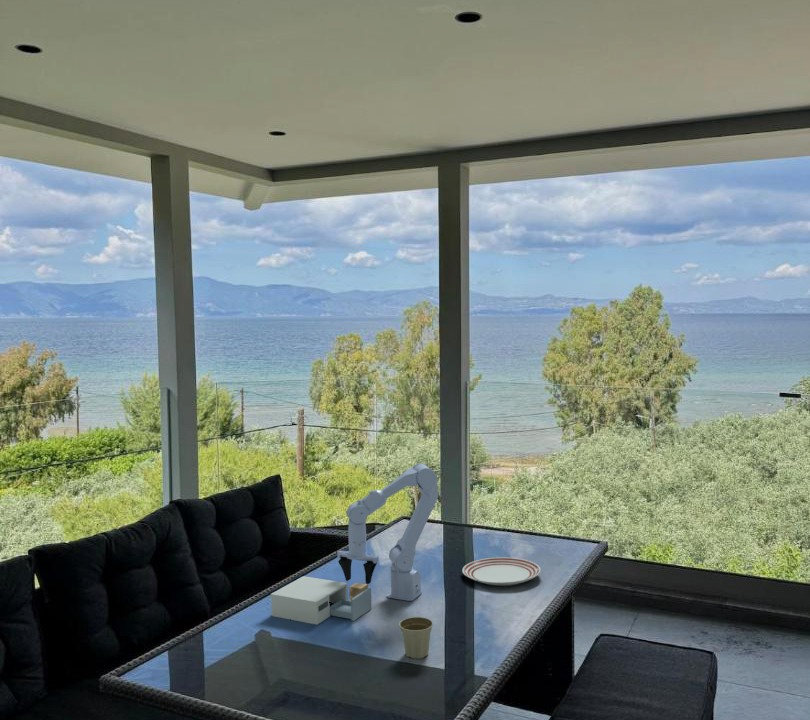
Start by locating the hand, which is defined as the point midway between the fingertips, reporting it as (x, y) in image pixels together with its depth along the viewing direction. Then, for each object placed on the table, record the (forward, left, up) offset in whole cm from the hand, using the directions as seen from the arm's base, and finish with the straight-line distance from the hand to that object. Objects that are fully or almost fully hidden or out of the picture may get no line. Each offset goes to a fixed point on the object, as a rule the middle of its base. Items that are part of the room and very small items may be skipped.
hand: (358, 581), depth 252 cm
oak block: (0, 0, -6) cm, 6 cm away
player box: (+10, +13, -6) cm, 18 cm away
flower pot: (-35, +28, -7) cm, 46 cm away
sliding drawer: (-2, +10, -6) cm, 12 cm away
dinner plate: (-35, -40, -7) cm, 53 cm away
